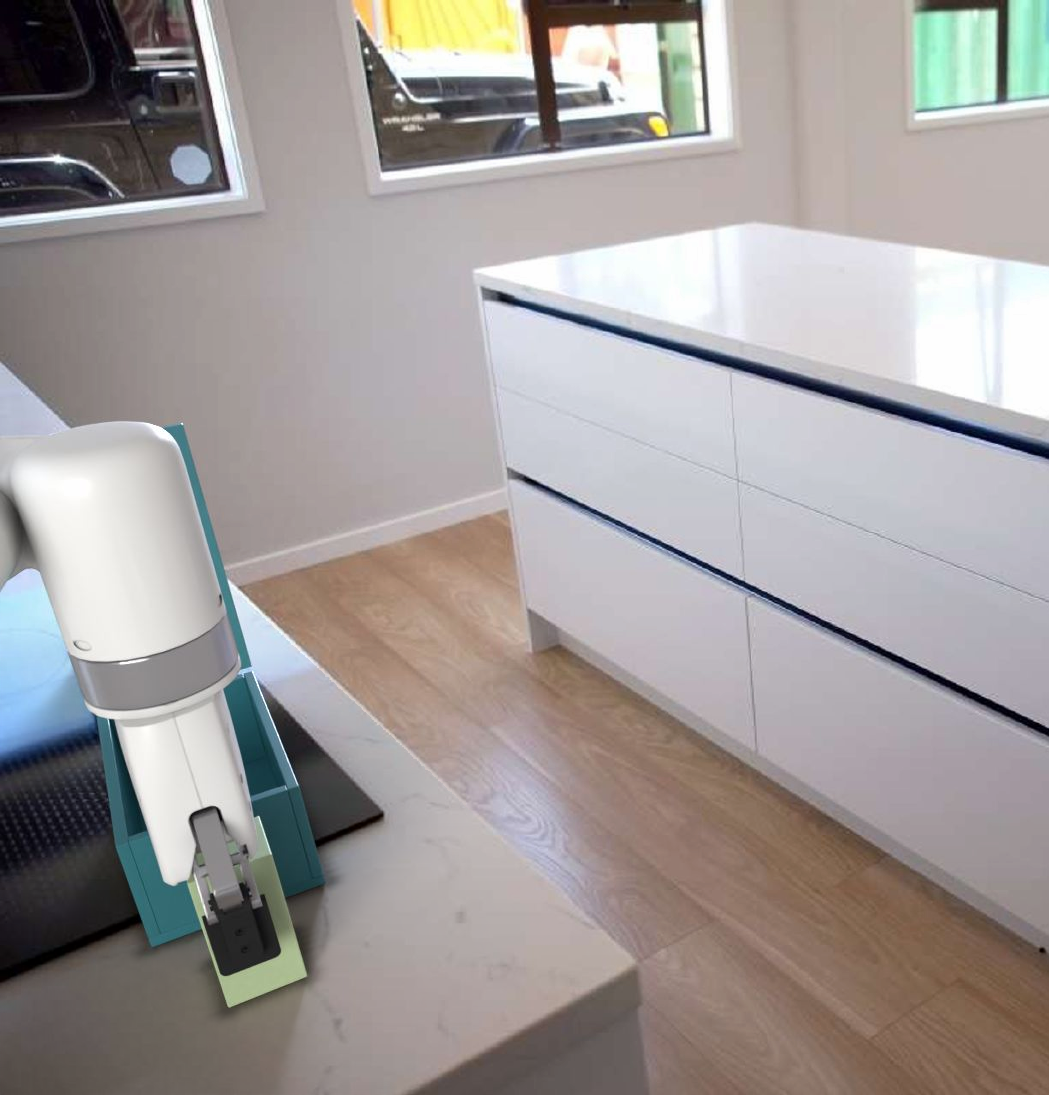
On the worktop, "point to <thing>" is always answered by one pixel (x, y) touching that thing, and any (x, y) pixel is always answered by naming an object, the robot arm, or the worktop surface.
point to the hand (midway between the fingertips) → (240, 920)
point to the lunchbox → (271, 800)
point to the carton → (290, 958)
